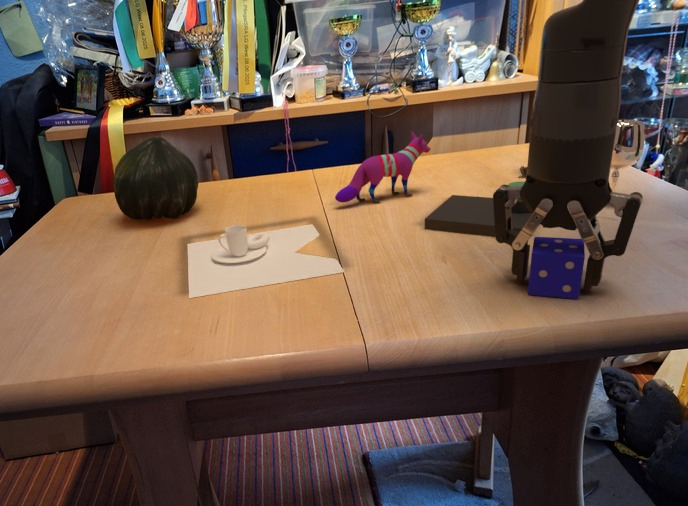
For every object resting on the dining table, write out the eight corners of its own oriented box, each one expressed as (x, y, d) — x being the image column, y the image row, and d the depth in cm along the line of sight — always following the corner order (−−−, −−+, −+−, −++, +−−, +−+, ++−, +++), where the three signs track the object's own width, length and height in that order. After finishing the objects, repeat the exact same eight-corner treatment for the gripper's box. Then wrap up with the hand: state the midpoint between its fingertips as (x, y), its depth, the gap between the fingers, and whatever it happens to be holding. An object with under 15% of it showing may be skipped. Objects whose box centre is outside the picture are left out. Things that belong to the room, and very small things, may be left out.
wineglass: (589, 212, 81) (602, 127, 76) (587, 200, 86) (598, 119, 81) (635, 213, 79) (651, 126, 74) (630, 200, 84) (644, 118, 79)
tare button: (536, 193, 82) (537, 182, 81) (530, 201, 79) (531, 189, 78) (510, 192, 84) (511, 180, 83) (504, 199, 81) (504, 187, 80)
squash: (112, 181, 106) (100, 128, 93) (190, 171, 110) (190, 118, 97) (125, 246, 101) (114, 199, 88) (206, 232, 105) (208, 185, 92)
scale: (546, 212, 83) (549, 189, 82) (527, 240, 75) (529, 215, 73) (452, 204, 91) (453, 183, 89) (424, 229, 82) (424, 206, 81)
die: (578, 280, 63) (584, 238, 61) (578, 300, 59) (585, 256, 57) (530, 276, 65) (534, 236, 63) (527, 295, 61) (531, 253, 59)
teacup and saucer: (268, 240, 85) (264, 214, 83) (276, 259, 78) (272, 231, 76) (210, 249, 84) (206, 223, 82) (213, 269, 77) (208, 242, 75)
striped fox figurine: (435, 192, 98) (436, 132, 93) (340, 212, 93) (336, 149, 89) (424, 187, 101) (425, 129, 96) (332, 206, 97) (327, 145, 92)
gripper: (662, 120, 53) (632, 279, 61) (506, 120, 61) (496, 261, 68) (656, 136, 48) (624, 309, 55) (485, 134, 56) (477, 286, 63)
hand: (553, 282), depth 62 cm, fingers open, 6 cm apart
